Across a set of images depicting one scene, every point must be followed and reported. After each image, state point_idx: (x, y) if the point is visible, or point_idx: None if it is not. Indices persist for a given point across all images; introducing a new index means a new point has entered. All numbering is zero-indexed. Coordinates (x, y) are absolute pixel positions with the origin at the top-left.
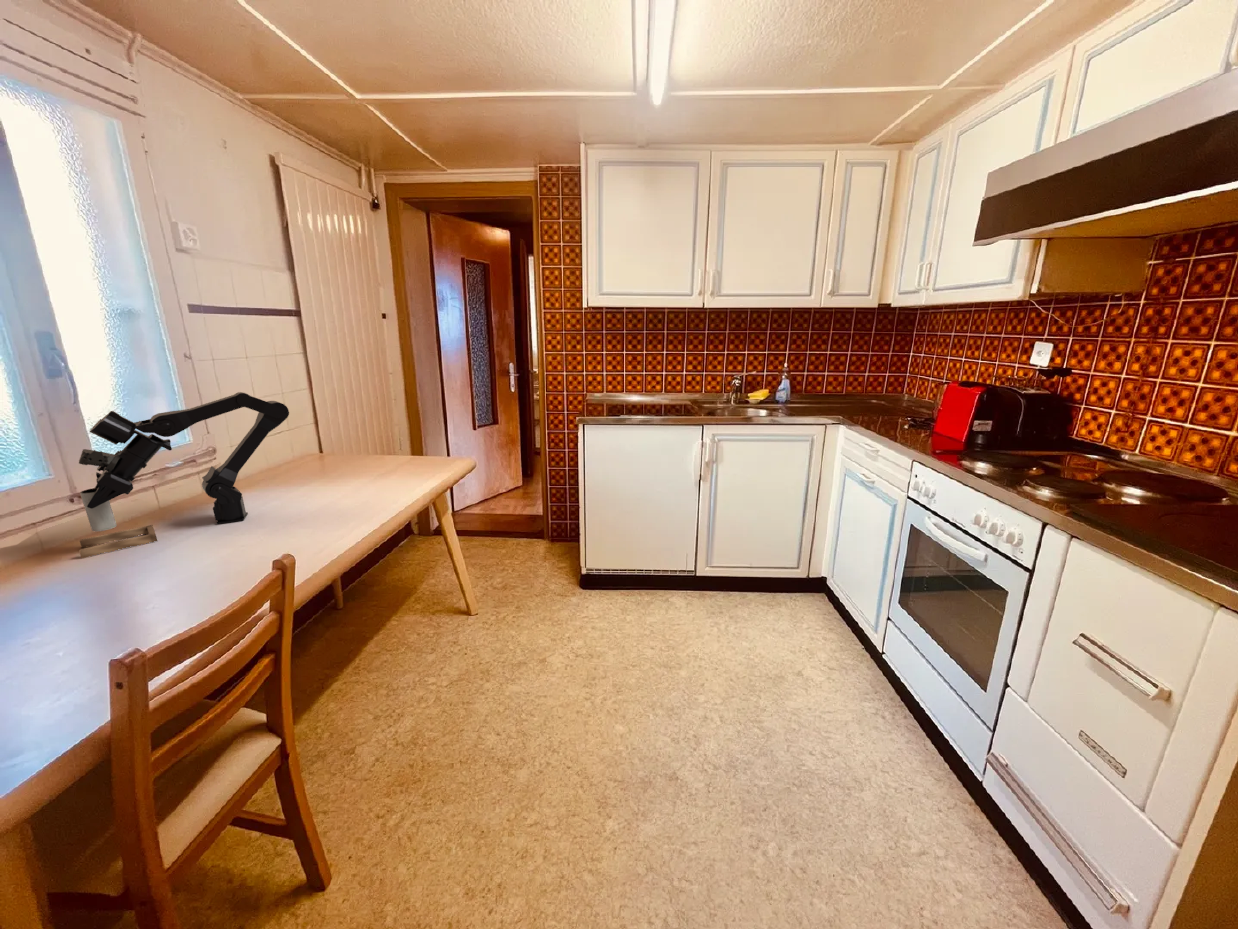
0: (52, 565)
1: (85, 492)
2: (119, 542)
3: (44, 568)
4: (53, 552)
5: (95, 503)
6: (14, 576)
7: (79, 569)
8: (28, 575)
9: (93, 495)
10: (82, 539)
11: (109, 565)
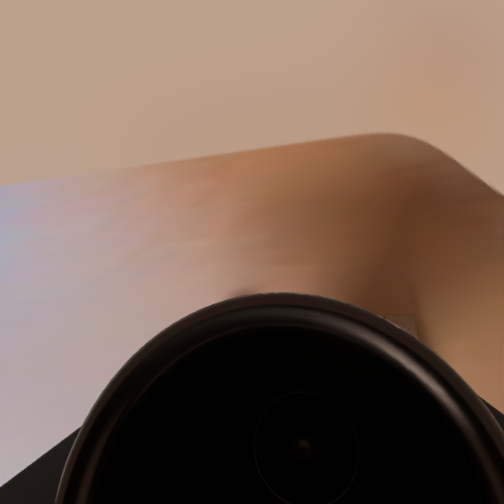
0: (215, 244)
1: (383, 375)
2: None
3: (201, 226)
4: (404, 232)
5: None
6: (193, 165)
7: (77, 323)
8: (165, 196)
9: (54, 495)
10: (410, 325)
11: (18, 417)
